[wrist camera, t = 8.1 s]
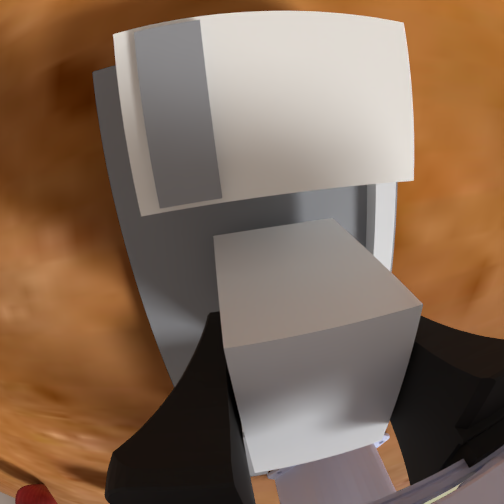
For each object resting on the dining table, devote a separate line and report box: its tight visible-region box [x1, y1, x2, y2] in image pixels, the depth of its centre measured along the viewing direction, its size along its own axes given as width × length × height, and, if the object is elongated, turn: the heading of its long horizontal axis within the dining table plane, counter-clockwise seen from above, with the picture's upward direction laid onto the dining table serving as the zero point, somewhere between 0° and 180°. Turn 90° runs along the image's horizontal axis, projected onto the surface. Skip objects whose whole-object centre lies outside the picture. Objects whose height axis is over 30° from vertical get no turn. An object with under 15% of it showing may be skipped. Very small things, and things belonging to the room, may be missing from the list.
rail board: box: [92, 11, 414, 477], centre depth 13 cm, size 20×12×6 cm, turn 6°
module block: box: [213, 218, 423, 473], centre depth 10 cm, size 6×4×6 cm
